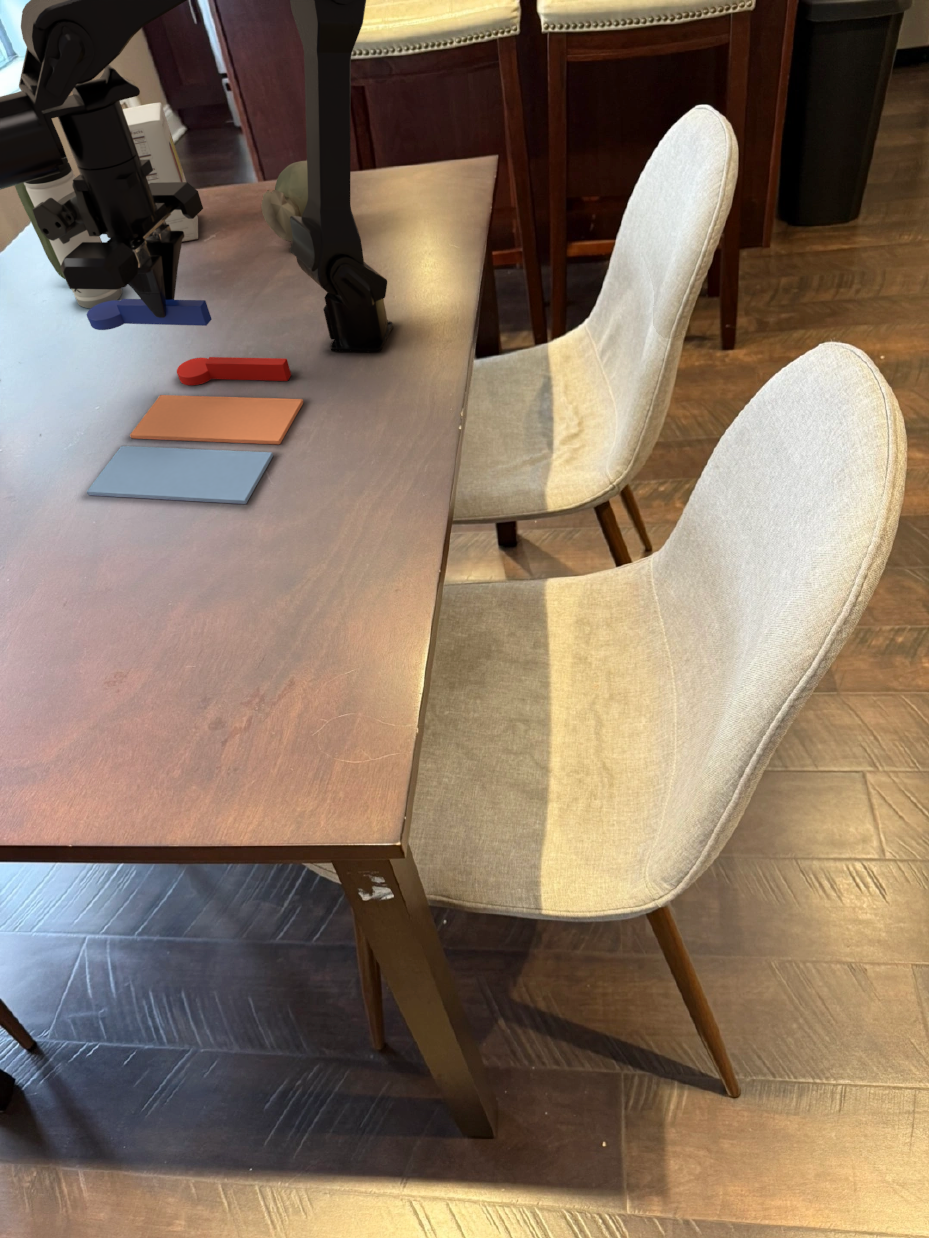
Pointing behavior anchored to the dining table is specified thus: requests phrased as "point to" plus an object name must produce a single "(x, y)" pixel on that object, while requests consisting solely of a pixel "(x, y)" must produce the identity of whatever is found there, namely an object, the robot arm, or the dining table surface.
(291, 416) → the terracotta mat
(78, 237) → the travel mug
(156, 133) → the supplement box
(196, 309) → the blue spoon
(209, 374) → the red spoon
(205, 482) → the blue mat
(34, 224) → the vegetable
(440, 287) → the dining table surface
